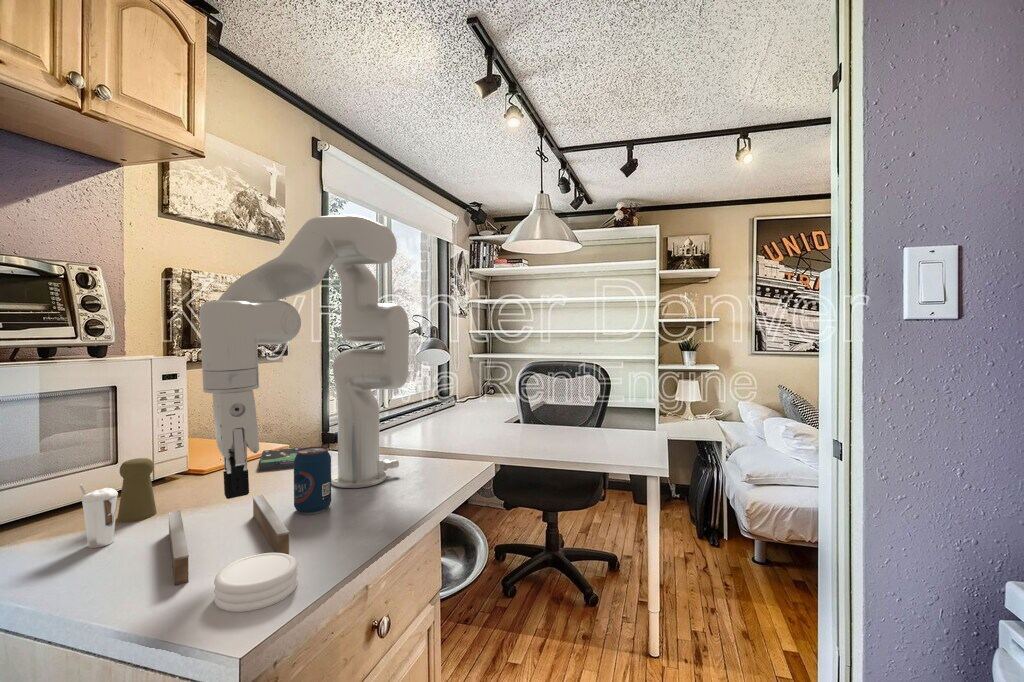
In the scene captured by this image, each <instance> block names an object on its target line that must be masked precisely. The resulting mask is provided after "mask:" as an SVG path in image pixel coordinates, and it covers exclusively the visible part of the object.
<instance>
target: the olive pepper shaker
mask: <svg viewBox="0 0 1024 682" xmlns="http://www.w3.org/2000/svg"><path fill="white" fill-rule="evenodd" d="M154 466H155V465H154V461H152V459H150V458H149V457H148V458H147V457H142V458H141V457H139V458H132V459H129V460H125V461H123V463H121V465H120V466H119V475H120V476H121V478H123V480H122V485H121V492H120V499H119V506H118V511H117V519H116V520H117V522H121V523H130V522H131V523H132V522H138V521H141V520H147V519H149V518H151V517H154V516H155V515H156V514H157V513H158V512H157V505H156V500H155V496H154V495H155V494H154V489H153V483H152V477H151V474H152V473H153V471H154V468H155V467H154Z"/></svg>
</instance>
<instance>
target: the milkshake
mask: <svg viewBox="0 0 1024 682" xmlns="http://www.w3.org/2000/svg"><path fill="white" fill-rule="evenodd" d="M79 488H80V490H81V492H82V494H83V497H82V498H81V503H82V508H83V509H82V510H83V517H84V527H85V535H86V543H87V544H86V545H87V548H89V549H99V548H102V547H106V546H108V545H111V544H112V543H113V542H114V539H115V530H116V529H115V528H116V517H117V516H116V515H117V507H118V506H117V505H118V496H119V493H118V491H117V490H116V489H114V488H111V487H103V488H100V489H96V490H93V491H90V492H89V493H86V491H85V489H84V487H83V485H82V484H80V485H79Z"/></svg>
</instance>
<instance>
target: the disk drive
mask: <svg viewBox="0 0 1024 682" xmlns="http://www.w3.org/2000/svg"><path fill="white" fill-rule="evenodd" d="M302 448H303V447H294V448H280V449H278V450H277V449H276V450H272V449H268V450H263V451H262V453H261V455H260V459H259V461H258V471H259V472H265V471H275V470H277V471H278V470H284V469H294V459H295V457H296V455H297V451H298V450H299V449H302Z"/></svg>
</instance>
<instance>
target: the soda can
mask: <svg viewBox="0 0 1024 682" xmlns="http://www.w3.org/2000/svg"><path fill="white" fill-rule="evenodd" d="M301 448H302V449H299V450H298V451H297V455H296V457H295V459H294V468H293V507H294V508H295V510H296V511H297V513H298V514H301V515H316V514H319V513H320V514H321V513H323V512H325V511H326V510H328V509H329V507H330V504H331V503H332V484H331V478H332V456H331V455H330V452H329V449H328V447H325V446H309V447H304V448H303V447H301Z"/></svg>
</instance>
